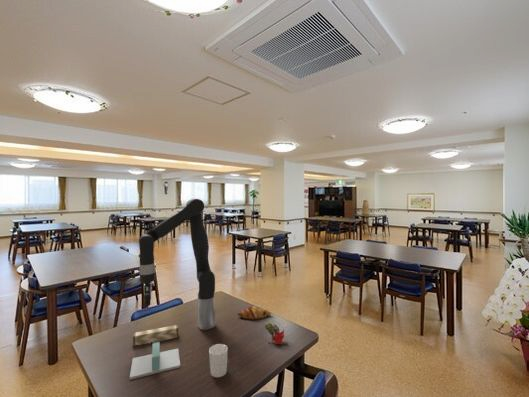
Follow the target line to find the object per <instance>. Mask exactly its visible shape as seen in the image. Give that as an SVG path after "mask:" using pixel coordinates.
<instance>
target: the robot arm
mask: <svg viewBox="0 0 529 397" xmlns="http://www.w3.org/2000/svg"><path fill="white" fill-rule="evenodd" d="M204 209H205V203H204V201H203V200H201V199H200V198H190V199H189V200H188V201H187V202H186V205H185V207H183V208H182V209H181V210H180V211H179V212H177V213H175V214H174V215H171V216H169V218H166V219H164V220H163V221H162V222H160V223H159V224H158V225H156V226H154V227H153V228H151V229H150V230H148V231H146V232H145V233H144V234H141V236H140V237H139V239H138V246H139V269H138V270H139V282H140V284H141V283H142V284H143V294H144V300H145V306H146V307H149V306H151V300H152V289H153V283H152V282H154V281H156V266H155V255H154V251H155V250H154V249H155V242H157V241H158V240H159V239H162V238H164V237H166V236H167V235H168V234H170V233H171V232H172V231H173V230H176V228H179V226H181V225H182V224H183V223H185V222H187V221H188V220H189V227H190V239H191V245H192V251H193V255H194V260H195V264H196V279H197V282H198V292H197V310H198V311H197V319H198V320H197V321H198V322H197V323H198V324H197V325H198V329H200V330H202V331H206V330H211V329H213V328H216V309H215V293H216V292H215V291H216V275H215V273H214V272H213V271H212V270H211V267H210V266H211V265H210V262H209V250H210V249H209V248H210V245H209V239H208V238H209V237H208V234H207V230H206V227H205V224H204V222H203V219H202V218H203V217H202V216H203V215H202V212H203V211H204Z"/></svg>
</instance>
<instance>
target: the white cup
mask: <svg viewBox="0 0 529 397" xmlns="http://www.w3.org/2000/svg"><path fill="white" fill-rule="evenodd" d="M228 349H229V348H228V345H226V344H224V343H216V344H213V345H211V347H209V350H208V355H209V356H208V357H209V358H208V360H209V368H210V375H211V376H212V377H214V378H221V377H224V376H225V375H226V374H227V372H228V368H227V367H228Z"/></svg>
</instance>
